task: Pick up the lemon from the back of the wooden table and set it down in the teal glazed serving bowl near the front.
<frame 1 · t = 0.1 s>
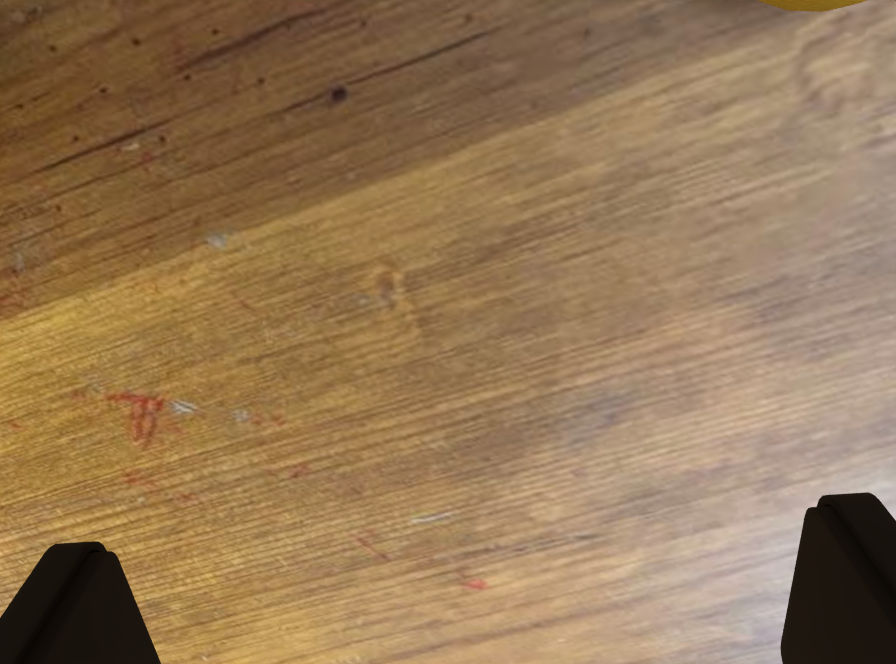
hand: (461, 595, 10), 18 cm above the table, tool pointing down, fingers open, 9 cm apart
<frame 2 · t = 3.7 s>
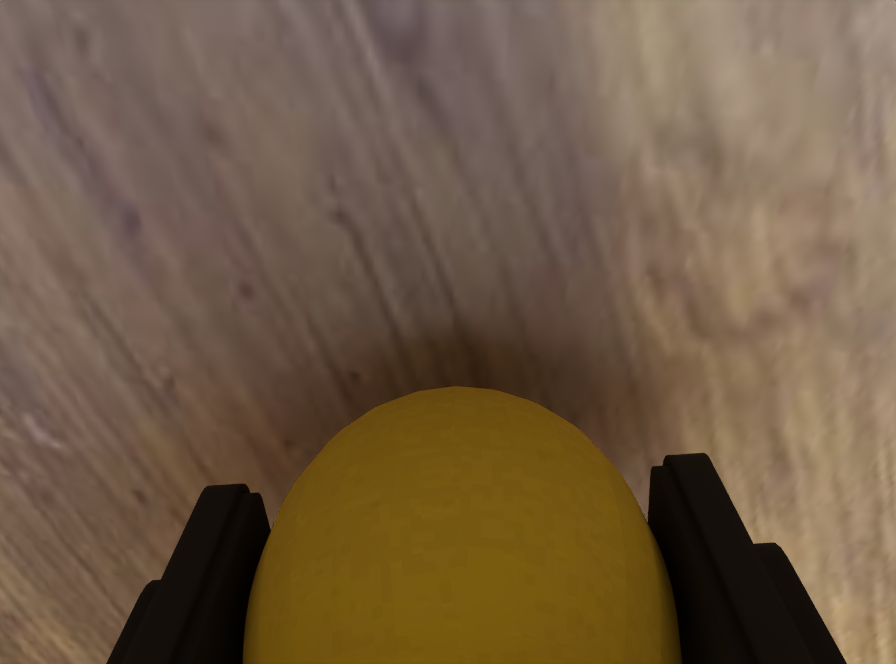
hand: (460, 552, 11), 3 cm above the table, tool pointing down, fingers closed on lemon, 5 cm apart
lemon: (459, 429, 13), on the table, touching gripper
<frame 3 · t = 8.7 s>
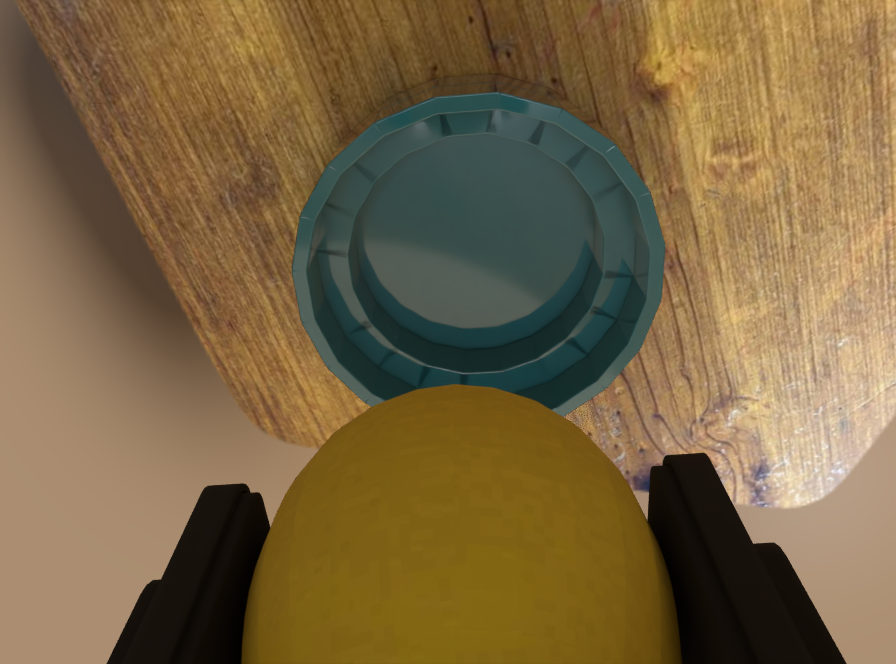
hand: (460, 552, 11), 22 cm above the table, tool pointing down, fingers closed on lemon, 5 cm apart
bowl: (474, 240, 32), on the table
lemon: (458, 428, 13), point 19 cm above the table, touching gripper
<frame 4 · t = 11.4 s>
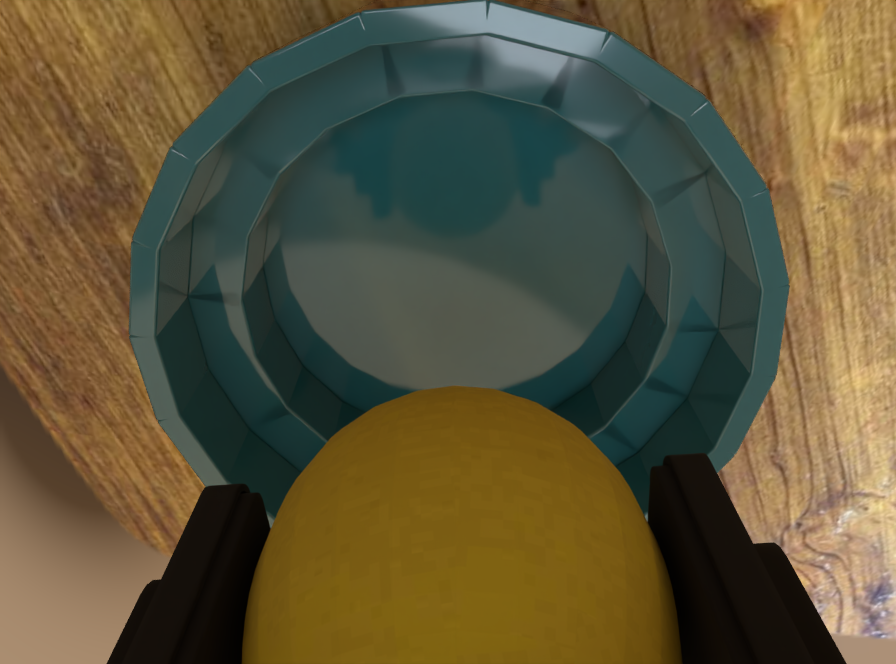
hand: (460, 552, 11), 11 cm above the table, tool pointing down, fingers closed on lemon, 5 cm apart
bowl: (455, 269, 20), on the table
lemon: (458, 429, 13), point 8 cm above the table, touching gripper
when the fingers open (4 cm above the table, at t = 13.6 s): lemon stays where it is, resting on bowl.
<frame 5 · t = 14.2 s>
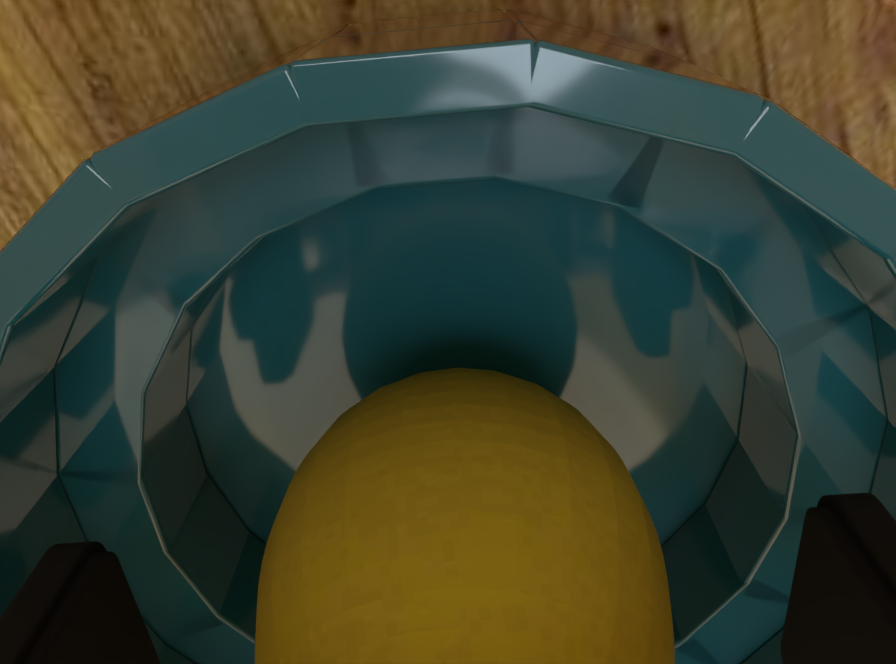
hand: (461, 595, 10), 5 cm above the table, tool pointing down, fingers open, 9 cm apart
bowl: (464, 403, 14), on the table
lemon: (460, 413, 14), resting on bowl
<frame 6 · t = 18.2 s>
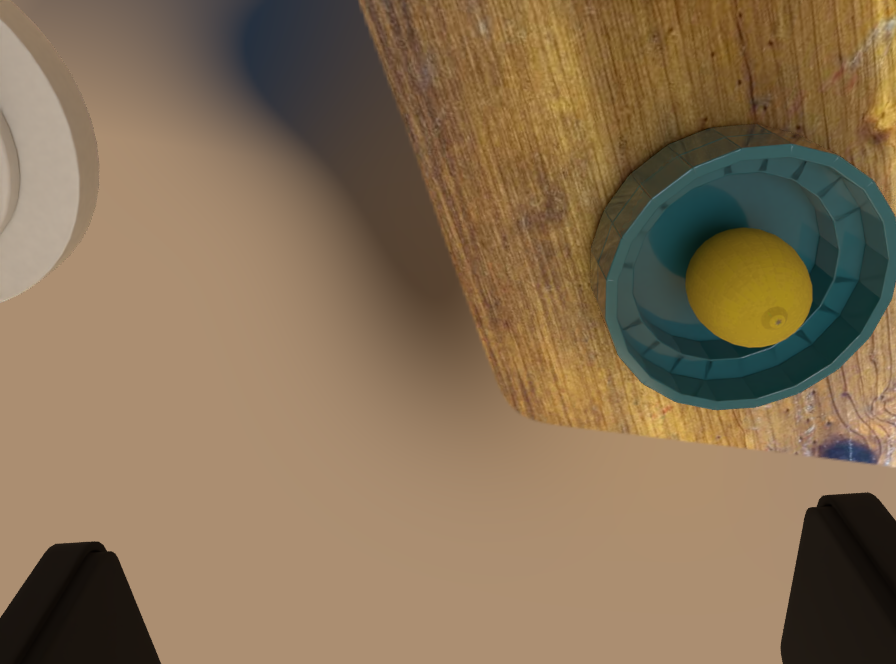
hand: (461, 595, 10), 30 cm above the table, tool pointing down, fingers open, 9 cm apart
bowl: (716, 252, 40), on the table
lemon: (718, 255, 39), resting on bowl
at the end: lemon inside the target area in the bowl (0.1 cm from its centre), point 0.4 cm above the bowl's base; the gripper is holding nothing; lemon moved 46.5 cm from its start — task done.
